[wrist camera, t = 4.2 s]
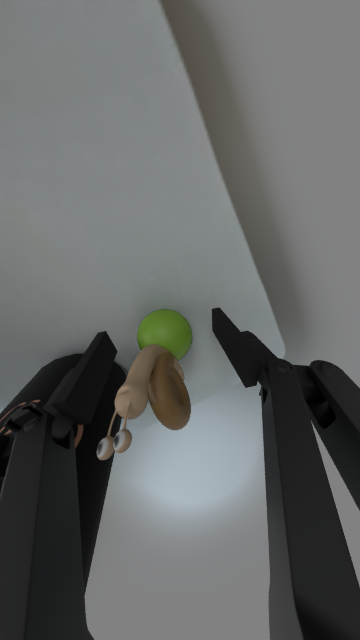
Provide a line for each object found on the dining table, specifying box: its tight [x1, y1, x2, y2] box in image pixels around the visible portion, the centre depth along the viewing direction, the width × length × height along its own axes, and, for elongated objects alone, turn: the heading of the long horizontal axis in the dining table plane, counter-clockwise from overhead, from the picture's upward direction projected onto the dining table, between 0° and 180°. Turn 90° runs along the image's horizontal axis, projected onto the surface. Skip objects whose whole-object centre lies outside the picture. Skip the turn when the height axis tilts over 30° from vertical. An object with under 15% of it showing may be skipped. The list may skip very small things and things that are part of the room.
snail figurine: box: [97, 309, 192, 460], centre depth 10 cm, size 5×6×12 cm
